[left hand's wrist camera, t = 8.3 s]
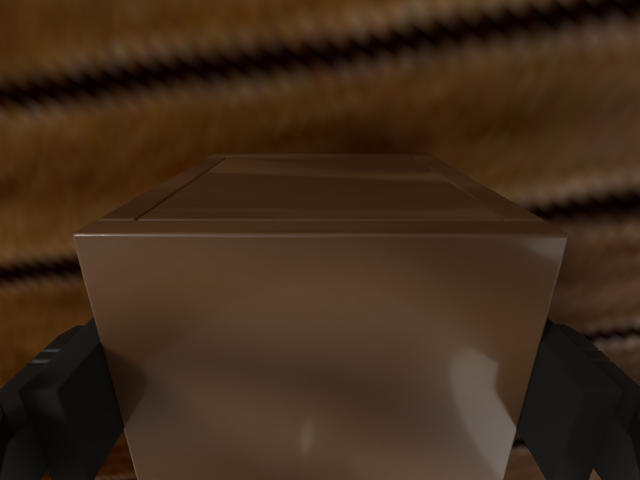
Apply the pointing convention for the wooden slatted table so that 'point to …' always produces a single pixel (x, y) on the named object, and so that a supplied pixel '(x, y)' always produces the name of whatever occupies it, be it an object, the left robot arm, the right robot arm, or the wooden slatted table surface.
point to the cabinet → (320, 318)
